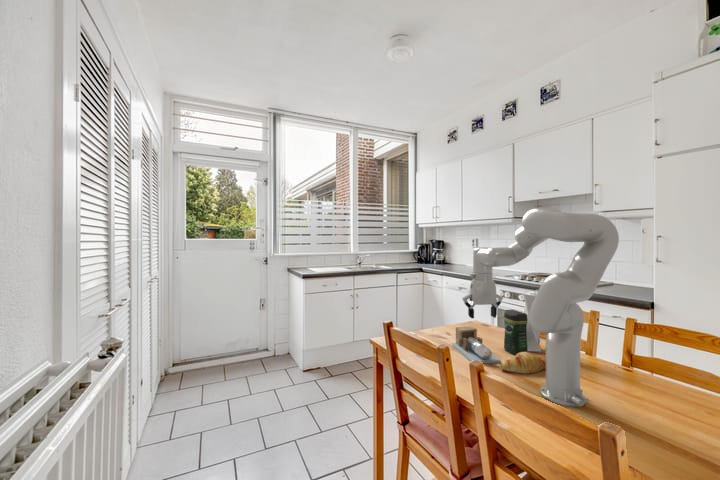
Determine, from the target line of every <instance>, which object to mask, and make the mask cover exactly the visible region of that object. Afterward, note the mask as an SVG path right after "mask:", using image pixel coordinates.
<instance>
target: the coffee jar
mask: <svg viewBox="0 0 720 480" xmlns="http://www.w3.org/2000/svg"><path fill="white" fill-rule="evenodd" d="M503 313H504V314H503V320H504V341H503V349H504V351H506V352H508V353H510V354H513V355H516V354H517V353H519V352H528V347H527V332H526V327H527V322H528V319H527V314H525V313H524V312H522V311H519V310H515V309H505V311H504V312H503Z"/></svg>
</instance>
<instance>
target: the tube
mask: <svg viewBox="0 0 720 480" xmlns="http://www.w3.org/2000/svg"><path fill="white" fill-rule="evenodd" d="M467 340H468V347H469V348H470V349H471V350H473V351H474V352H475V353H476V354H478V355H479V356H480V357H481V358H483V359H484V360H488V359H489V358H490V357H491V356H492V354H493V352H492V350H491V349H490V348H489V347H487V346H486V345H484V344H483V342H482V343H480V342H479V341H477V340H476V339H475V338H473V337H470V338H468V339H467Z"/></svg>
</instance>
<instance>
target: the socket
mask: <svg viewBox="0 0 720 480" xmlns="http://www.w3.org/2000/svg"><path fill="white" fill-rule="evenodd" d="M477 333H478V329H477V328H476V327H474V326H459V327H458V326H457V327H455V343H456V344H457V345H458V346H462V344H463V338H466V339H468V338H470V337H473V338H475V339H476V340H477V337H478V334H477Z"/></svg>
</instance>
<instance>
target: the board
mask: <svg viewBox="0 0 720 480" xmlns="http://www.w3.org/2000/svg"><path fill="white" fill-rule="evenodd" d="M451 346H452V347H453V348H454V349H455V350H457V351H458V352H459V353H460V354H461V355H462V356H463V357H464V358H465V359H466V360H467V361H469V362H470V361H472V360H479V361H481V362H483V363H484V364H498V363H499V364H502V360H501V359H500V358H499V357H497V356H496V355H494V354H493V353H492V356H491V357H490V358H489V359H488V360H484V359H483V358H481V357H480V356H479V355H478V354H476V353H475V352H474V351H473V350H471V349H470V348H469V347H468V351H465V350H464V349H463V344H462V346H458V345H457V344H456V342H453V343H451Z"/></svg>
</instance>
